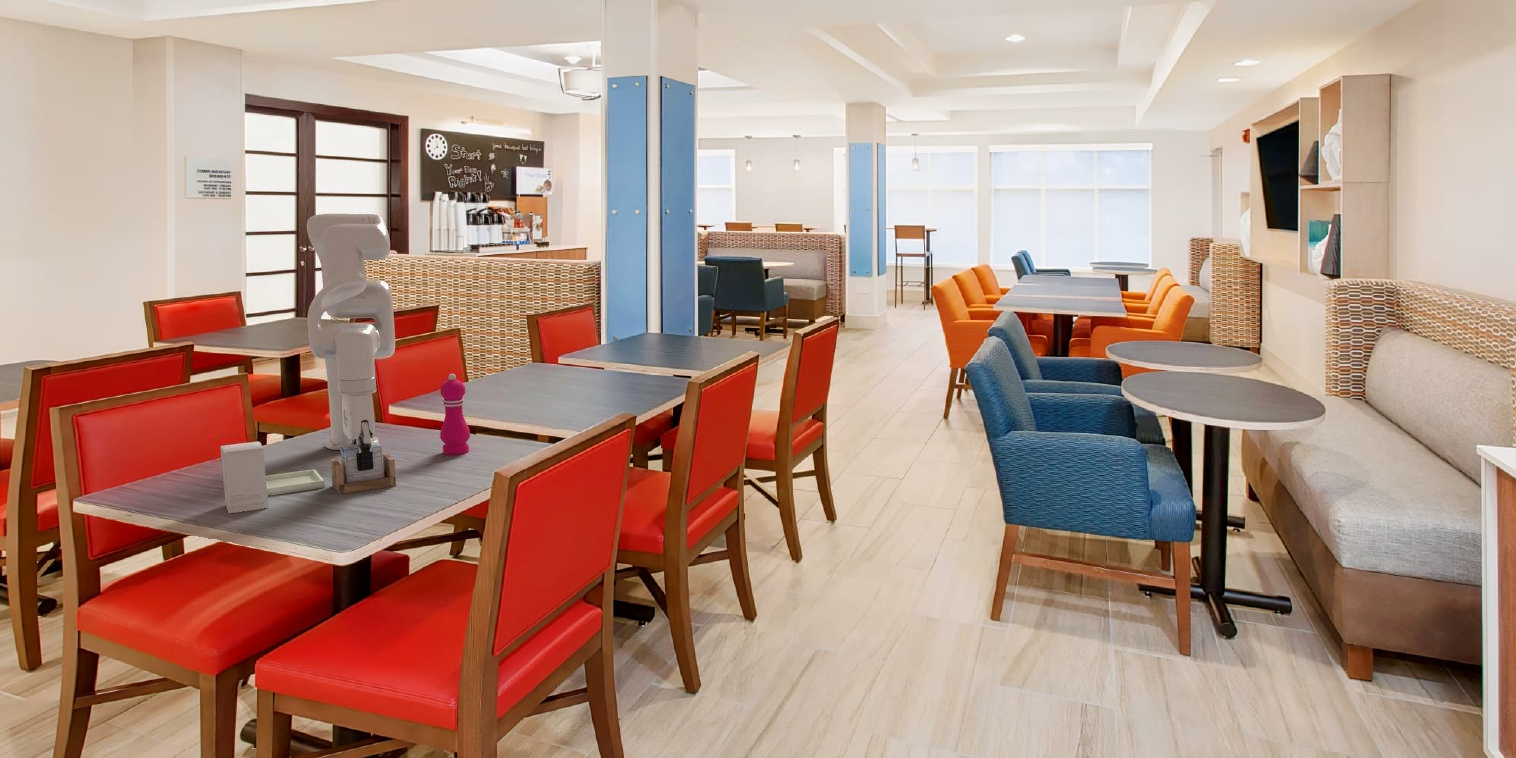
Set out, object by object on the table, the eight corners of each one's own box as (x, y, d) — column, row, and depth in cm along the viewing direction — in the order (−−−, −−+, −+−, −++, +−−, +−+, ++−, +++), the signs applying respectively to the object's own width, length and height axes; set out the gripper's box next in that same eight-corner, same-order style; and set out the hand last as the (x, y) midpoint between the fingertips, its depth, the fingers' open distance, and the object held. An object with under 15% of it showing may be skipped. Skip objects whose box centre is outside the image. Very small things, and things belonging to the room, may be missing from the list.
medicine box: (380, 478, 211) (377, 440, 209) (385, 482, 207) (382, 444, 206) (343, 484, 206) (339, 445, 205) (347, 488, 203) (344, 450, 201)
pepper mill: (461, 456, 232) (457, 376, 229) (435, 454, 234) (430, 375, 230) (476, 449, 239) (472, 372, 236) (450, 447, 241) (446, 370, 237)
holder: (332, 485, 206) (330, 459, 205) (387, 477, 213) (385, 452, 212) (339, 494, 200) (337, 466, 199) (396, 485, 207) (394, 459, 206)
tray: (260, 483, 208) (259, 476, 208) (315, 475, 214) (314, 469, 214) (267, 495, 199) (267, 488, 198) (324, 487, 205) (324, 480, 205)
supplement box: (269, 508, 190) (264, 447, 188) (227, 514, 186) (221, 452, 184) (265, 499, 196) (260, 440, 194) (225, 504, 193) (219, 445, 190)
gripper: (330, 381, 208) (336, 460, 211) (347, 394, 194) (353, 479, 197) (366, 377, 212) (371, 455, 215) (385, 390, 198) (390, 473, 202)
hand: (362, 466), depth 206 cm, fingers closed on medicine box, 4 cm apart
